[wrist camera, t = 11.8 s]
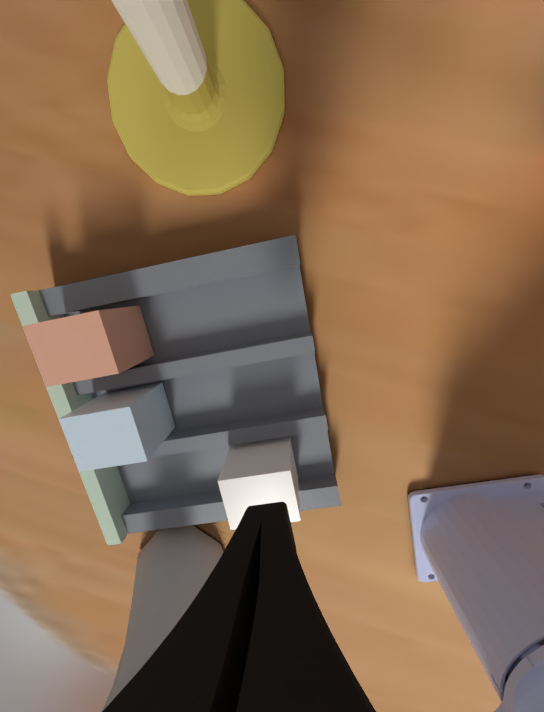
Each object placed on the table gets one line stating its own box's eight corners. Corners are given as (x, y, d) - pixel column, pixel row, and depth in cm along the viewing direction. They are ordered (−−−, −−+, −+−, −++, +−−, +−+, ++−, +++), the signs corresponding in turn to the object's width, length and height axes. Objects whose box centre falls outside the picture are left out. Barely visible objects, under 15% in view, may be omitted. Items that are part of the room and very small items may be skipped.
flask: (124, 547, 24) (12, 728, 14) (194, 508, 22) (124, 675, 13) (178, 606, 25) (108, 811, 15) (246, 572, 24) (220, 770, 14)
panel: (294, 241, 18) (296, 231, 14) (334, 481, 21) (343, 514, 18) (55, 293, 19) (10, 294, 16) (132, 509, 23) (107, 545, 20)
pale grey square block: (289, 433, 19) (290, 470, 15) (297, 475, 20) (300, 521, 16) (231, 442, 19) (217, 481, 16) (241, 483, 20) (230, 529, 16)
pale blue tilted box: (162, 382, 19) (129, 406, 15) (175, 426, 19) (147, 461, 15) (104, 392, 19) (58, 419, 15) (120, 435, 20) (79, 471, 16)
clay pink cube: (139, 305, 18) (98, 310, 14) (154, 355, 18) (119, 373, 14) (79, 317, 18) (22, 325, 14) (96, 366, 19) (46, 387, 15)
